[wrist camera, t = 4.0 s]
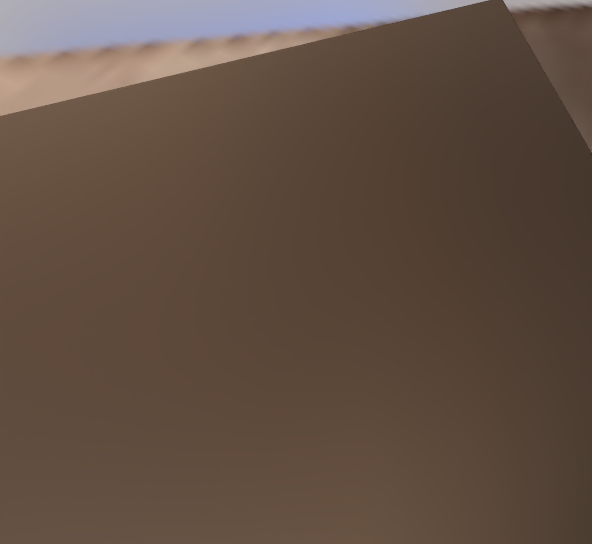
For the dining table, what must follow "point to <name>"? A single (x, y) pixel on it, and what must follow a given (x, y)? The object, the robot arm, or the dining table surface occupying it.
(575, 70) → the dining table surface
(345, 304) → the keyed plug
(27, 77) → the dining table surface
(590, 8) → the dining table surface
